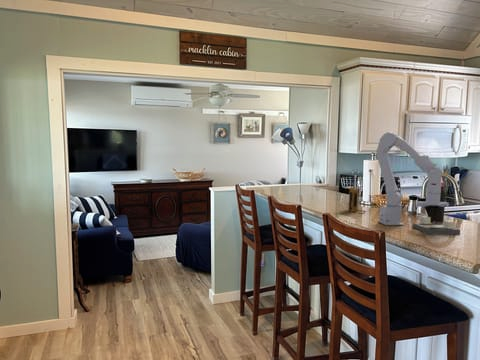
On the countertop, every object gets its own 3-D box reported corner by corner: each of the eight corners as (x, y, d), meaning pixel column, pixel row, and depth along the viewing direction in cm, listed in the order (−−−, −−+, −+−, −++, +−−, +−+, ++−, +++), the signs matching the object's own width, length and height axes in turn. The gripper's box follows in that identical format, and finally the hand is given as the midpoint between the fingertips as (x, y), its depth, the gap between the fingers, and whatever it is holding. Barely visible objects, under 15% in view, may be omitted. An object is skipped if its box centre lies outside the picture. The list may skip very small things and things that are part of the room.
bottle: (445, 222, 183) (448, 182, 181) (430, 222, 184) (433, 182, 182) (440, 220, 189) (443, 181, 187) (426, 219, 191) (429, 181, 189)
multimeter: (372, 214, 202) (374, 177, 200) (354, 213, 202) (355, 177, 200) (363, 209, 216) (365, 175, 214) (346, 208, 216) (348, 175, 214)
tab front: (447, 228, 160) (448, 221, 159) (443, 226, 163) (443, 220, 162) (454, 228, 160) (454, 221, 160) (449, 226, 163) (450, 220, 163)
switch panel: (429, 234, 159) (429, 229, 159) (412, 227, 172) (413, 222, 171) (459, 234, 160) (460, 229, 160) (441, 227, 173) (441, 222, 173)
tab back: (424, 223, 168) (424, 217, 168) (420, 222, 171) (420, 216, 171) (430, 223, 168) (430, 217, 168) (426, 222, 171) (426, 216, 171)
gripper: (423, 193, 164) (421, 223, 165) (454, 194, 165) (451, 223, 167) (414, 191, 171) (412, 220, 172) (444, 192, 172) (441, 220, 174)
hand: (431, 221), depth 170 cm, fingers closed
